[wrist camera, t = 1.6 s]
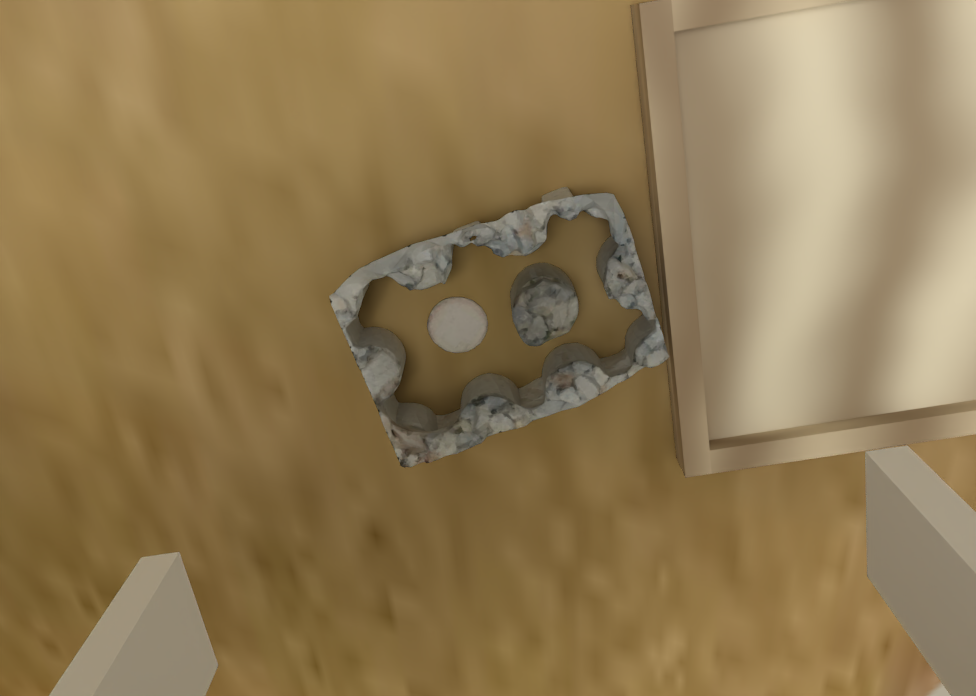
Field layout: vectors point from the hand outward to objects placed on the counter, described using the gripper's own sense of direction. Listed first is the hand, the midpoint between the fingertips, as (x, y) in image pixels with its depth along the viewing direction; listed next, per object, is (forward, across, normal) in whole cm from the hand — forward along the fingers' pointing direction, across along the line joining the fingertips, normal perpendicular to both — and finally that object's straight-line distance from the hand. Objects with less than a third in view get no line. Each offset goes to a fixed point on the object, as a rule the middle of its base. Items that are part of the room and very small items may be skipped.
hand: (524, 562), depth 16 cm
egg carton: (+17, 0, 0) cm, 17 cm away
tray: (+16, +14, +1) cm, 21 cm away
